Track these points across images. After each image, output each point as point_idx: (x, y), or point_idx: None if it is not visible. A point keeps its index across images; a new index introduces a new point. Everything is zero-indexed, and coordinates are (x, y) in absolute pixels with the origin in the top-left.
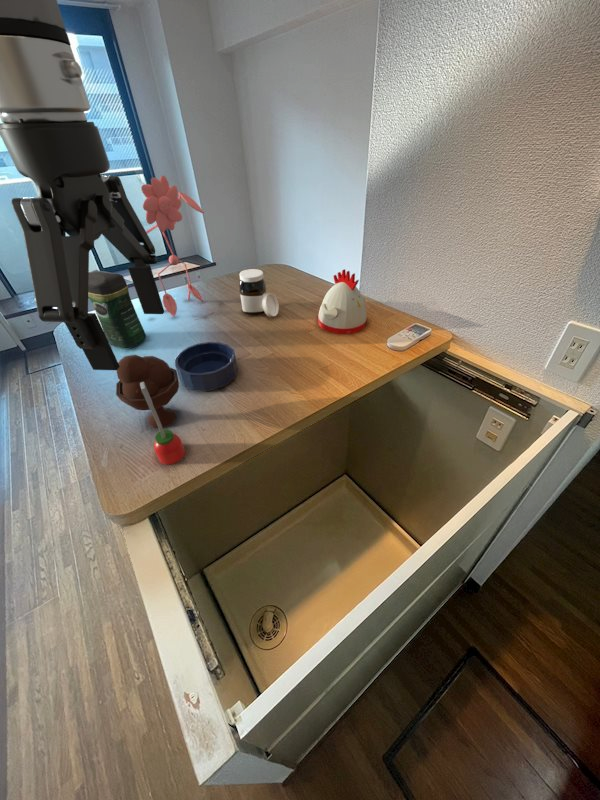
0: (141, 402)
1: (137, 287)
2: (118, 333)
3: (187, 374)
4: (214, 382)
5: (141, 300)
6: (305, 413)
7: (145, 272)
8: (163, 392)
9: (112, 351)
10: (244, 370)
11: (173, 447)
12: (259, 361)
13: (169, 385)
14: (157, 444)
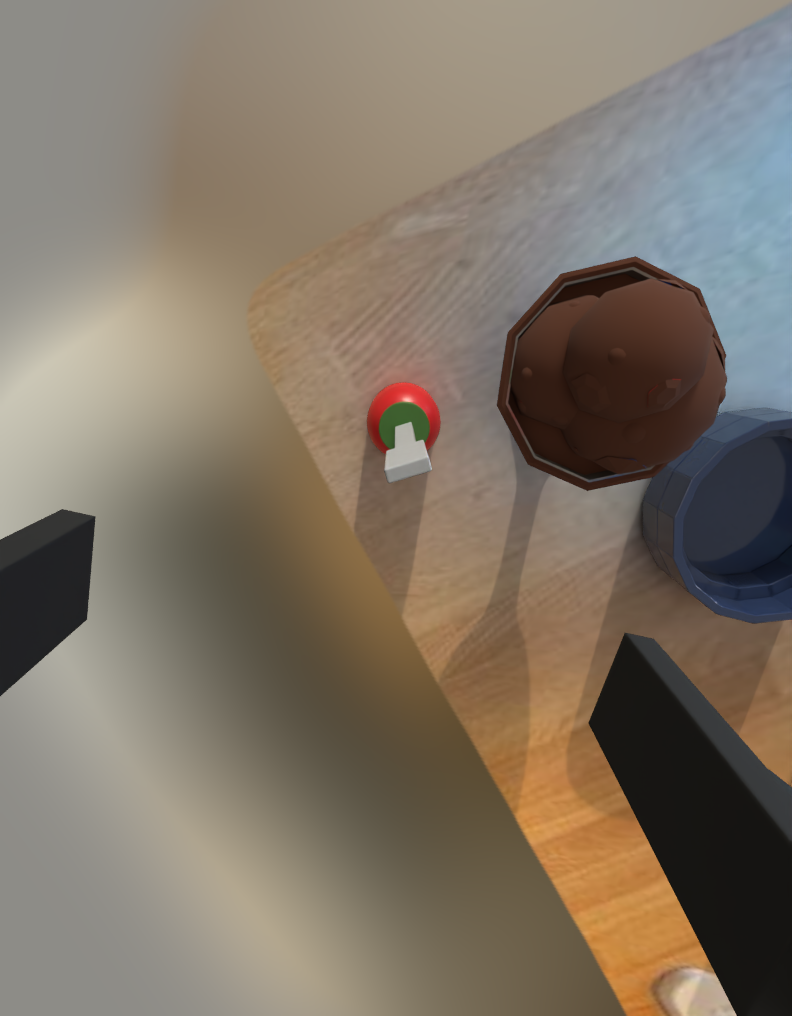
0: (501, 374)
1: (704, 761)
2: None
3: (698, 468)
4: (654, 537)
5: (657, 694)
6: (477, 738)
7: (732, 953)
8: (529, 447)
9: (29, 667)
10: None
11: (378, 446)
12: (749, 653)
13: (575, 457)
14: (386, 406)
